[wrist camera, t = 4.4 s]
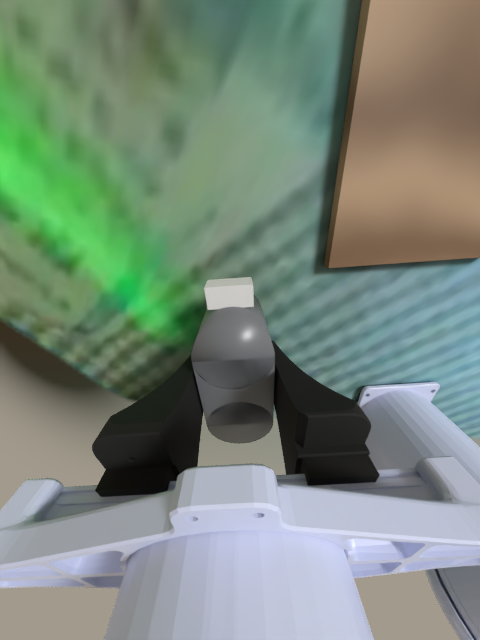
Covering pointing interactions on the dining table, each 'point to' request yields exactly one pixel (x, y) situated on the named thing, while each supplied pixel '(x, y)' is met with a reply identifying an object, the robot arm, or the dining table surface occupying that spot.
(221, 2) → the dining table surface
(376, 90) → the walnut pad
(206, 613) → the robot arm
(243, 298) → the grey rounded bottle
